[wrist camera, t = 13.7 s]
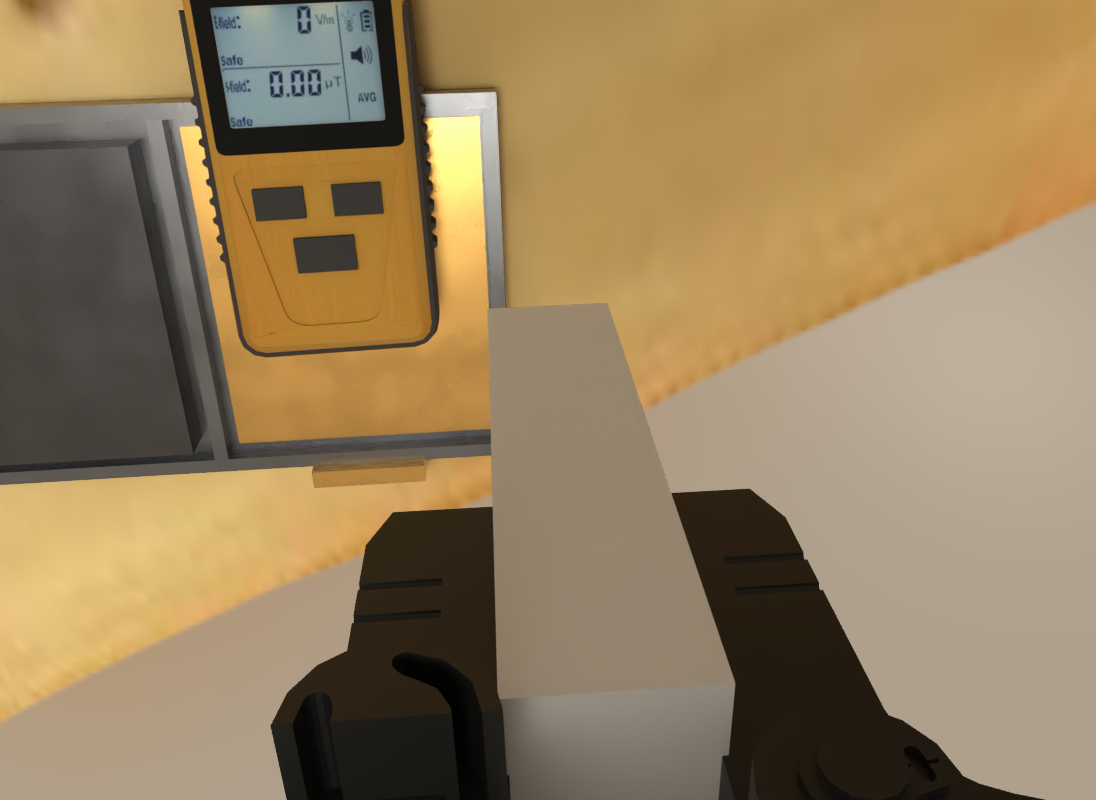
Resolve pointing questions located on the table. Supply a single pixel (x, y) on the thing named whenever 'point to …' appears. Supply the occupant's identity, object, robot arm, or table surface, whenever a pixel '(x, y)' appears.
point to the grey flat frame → (216, 312)
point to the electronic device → (317, 171)
